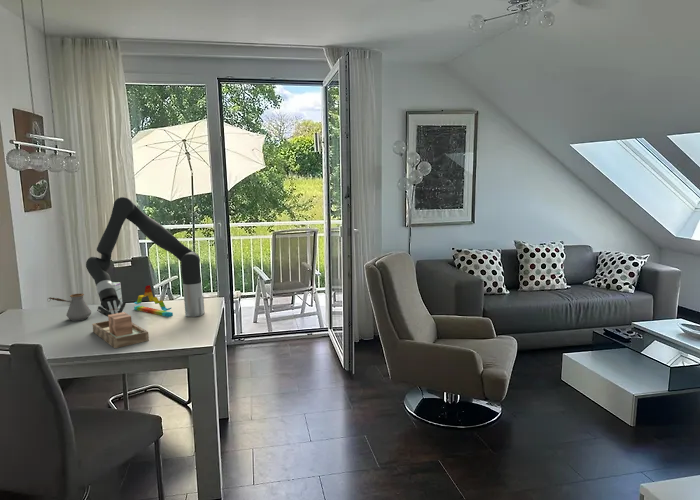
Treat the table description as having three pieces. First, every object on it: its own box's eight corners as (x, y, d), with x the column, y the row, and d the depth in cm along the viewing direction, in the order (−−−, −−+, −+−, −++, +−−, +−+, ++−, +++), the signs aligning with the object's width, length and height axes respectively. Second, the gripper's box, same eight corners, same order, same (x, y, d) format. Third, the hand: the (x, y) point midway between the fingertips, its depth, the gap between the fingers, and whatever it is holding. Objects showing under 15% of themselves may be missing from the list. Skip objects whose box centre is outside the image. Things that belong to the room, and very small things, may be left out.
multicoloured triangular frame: (173, 315, 261) (171, 288, 259) (168, 317, 258) (165, 289, 256) (139, 308, 278) (137, 282, 276) (134, 310, 275) (132, 283, 273)
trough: (93, 331, 235) (92, 323, 235) (124, 325, 245) (123, 317, 244) (114, 348, 211) (113, 339, 210) (148, 340, 221) (148, 331, 220)
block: (109, 331, 226) (108, 315, 225) (125, 328, 231) (124, 312, 230) (116, 336, 219) (114, 319, 218) (132, 333, 223) (131, 316, 222)
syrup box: (123, 306, 282) (120, 281, 280) (117, 309, 277) (115, 284, 274) (113, 306, 283) (111, 281, 281) (107, 309, 277) (105, 284, 275)
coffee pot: (81, 314, 267) (78, 287, 264) (96, 316, 262) (93, 289, 260) (43, 326, 247) (40, 296, 245) (59, 328, 243) (55, 298, 241)
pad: (106, 339, 224) (105, 333, 224) (133, 333, 232) (133, 327, 232) (113, 344, 216) (112, 338, 216) (141, 338, 224) (140, 332, 224)
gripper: (92, 289, 229) (102, 320, 222) (122, 285, 238) (133, 314, 231) (90, 298, 234) (100, 329, 227) (120, 294, 243) (130, 323, 235)
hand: (116, 322), depth 229 cm, fingers closed
